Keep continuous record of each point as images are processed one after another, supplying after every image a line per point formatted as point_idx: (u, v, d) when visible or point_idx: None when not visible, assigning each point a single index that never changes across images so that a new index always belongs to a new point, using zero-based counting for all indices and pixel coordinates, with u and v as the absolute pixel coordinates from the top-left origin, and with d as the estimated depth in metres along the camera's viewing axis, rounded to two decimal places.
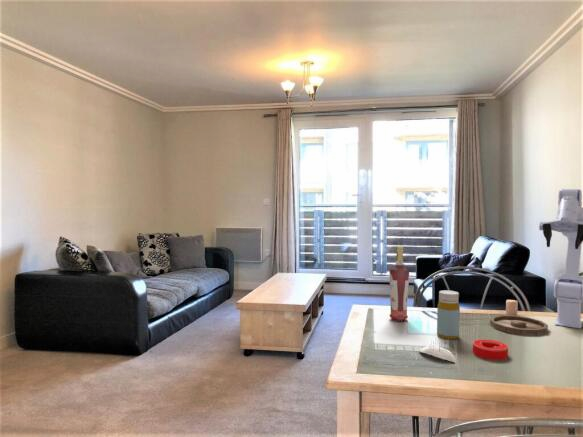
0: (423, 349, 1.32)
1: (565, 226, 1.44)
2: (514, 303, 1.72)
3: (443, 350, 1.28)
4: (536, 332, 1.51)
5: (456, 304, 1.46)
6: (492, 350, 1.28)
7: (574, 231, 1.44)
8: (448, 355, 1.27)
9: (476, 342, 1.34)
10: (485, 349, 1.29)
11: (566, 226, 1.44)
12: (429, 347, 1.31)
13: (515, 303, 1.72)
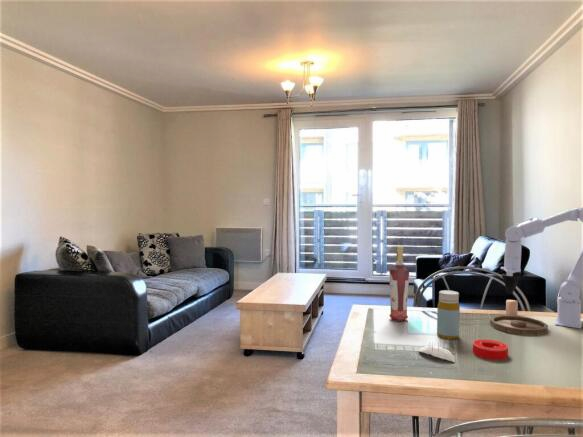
0: (422, 349, 1.32)
1: None
2: (514, 303, 1.72)
3: (442, 350, 1.28)
4: (536, 332, 1.51)
5: (456, 304, 1.46)
6: (492, 350, 1.28)
7: (516, 271, 1.69)
8: (447, 354, 1.27)
9: (476, 342, 1.34)
10: (485, 349, 1.29)
11: None
12: (428, 347, 1.31)
13: (515, 303, 1.72)
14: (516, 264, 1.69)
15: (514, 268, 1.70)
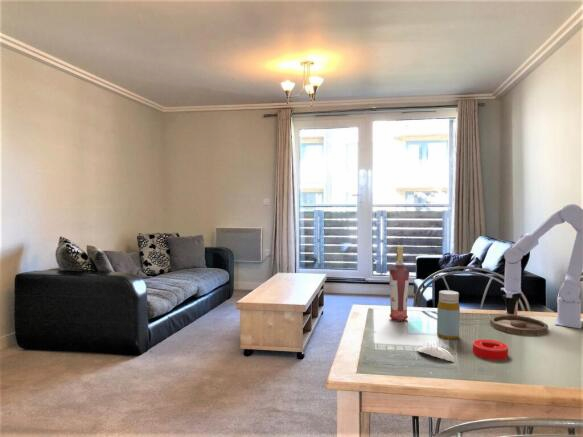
0: (421, 348, 1.32)
1: None
2: None
3: (441, 349, 1.29)
4: (536, 332, 1.51)
5: (456, 304, 1.46)
6: (492, 350, 1.28)
7: (516, 293, 1.70)
8: (446, 354, 1.27)
9: (476, 342, 1.34)
10: (485, 349, 1.29)
11: None
12: (427, 346, 1.32)
13: None
14: (516, 285, 1.70)
15: (514, 289, 1.71)
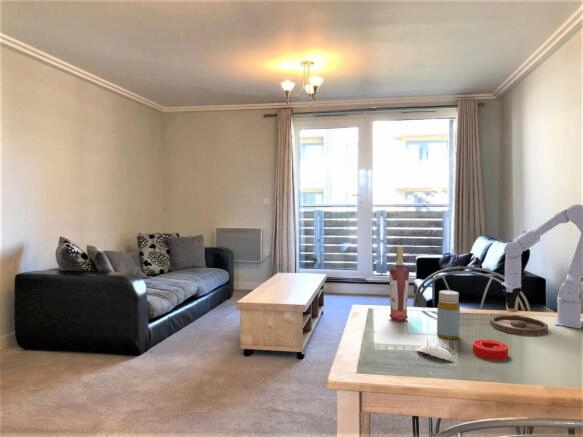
0: (421, 348, 1.33)
1: None
2: None
3: (440, 349, 1.29)
4: (536, 332, 1.51)
5: (456, 304, 1.46)
6: (492, 350, 1.28)
7: (517, 287, 1.70)
8: (445, 354, 1.27)
9: (476, 342, 1.34)
10: (485, 349, 1.29)
11: None
12: (427, 346, 1.32)
13: None
14: (516, 280, 1.70)
15: (514, 284, 1.70)
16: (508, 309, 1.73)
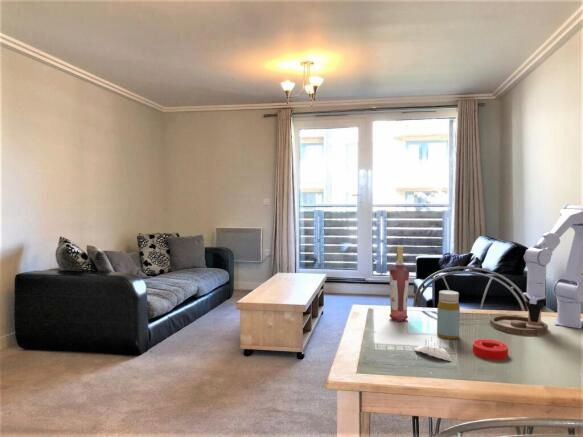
0: (419, 348, 1.33)
1: None
2: None
3: (438, 349, 1.29)
4: (536, 332, 1.51)
5: (456, 304, 1.46)
6: (492, 350, 1.28)
7: (541, 298, 1.53)
8: (443, 354, 1.28)
9: (476, 342, 1.34)
10: (485, 349, 1.29)
11: None
12: (424, 346, 1.32)
13: None
14: (540, 290, 1.53)
15: (538, 295, 1.53)
16: (530, 322, 1.56)
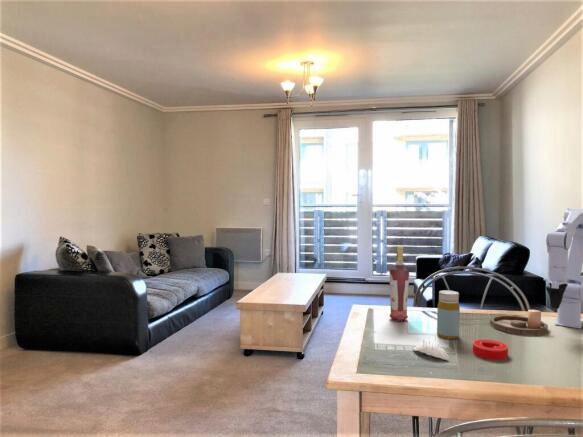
0: (417, 347, 1.33)
1: None
2: (537, 313, 1.54)
3: (436, 348, 1.30)
4: (536, 332, 1.51)
5: (456, 304, 1.46)
6: (492, 350, 1.28)
7: (563, 283, 1.49)
8: (441, 353, 1.28)
9: (476, 342, 1.34)
10: (485, 349, 1.29)
11: None
12: (423, 345, 1.33)
13: (538, 314, 1.54)
14: (562, 274, 1.49)
15: (560, 279, 1.50)
16: (530, 326, 1.56)
